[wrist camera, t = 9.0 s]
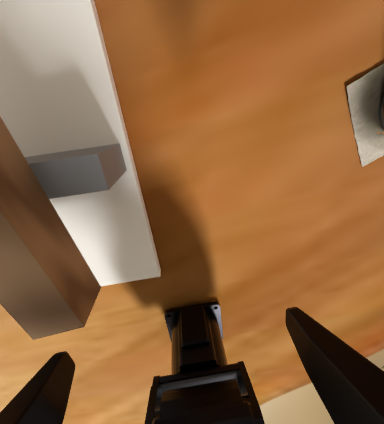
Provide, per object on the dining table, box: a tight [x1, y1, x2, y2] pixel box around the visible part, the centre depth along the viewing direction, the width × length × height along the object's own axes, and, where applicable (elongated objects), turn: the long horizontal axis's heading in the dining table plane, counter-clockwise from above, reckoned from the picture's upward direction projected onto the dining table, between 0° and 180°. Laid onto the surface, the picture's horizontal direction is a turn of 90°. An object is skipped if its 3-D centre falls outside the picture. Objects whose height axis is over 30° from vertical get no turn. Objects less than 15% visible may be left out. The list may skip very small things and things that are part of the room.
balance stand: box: [0, 0, 161, 286], centre depth 14 cm, size 24×11×6 cm, turn 7°
